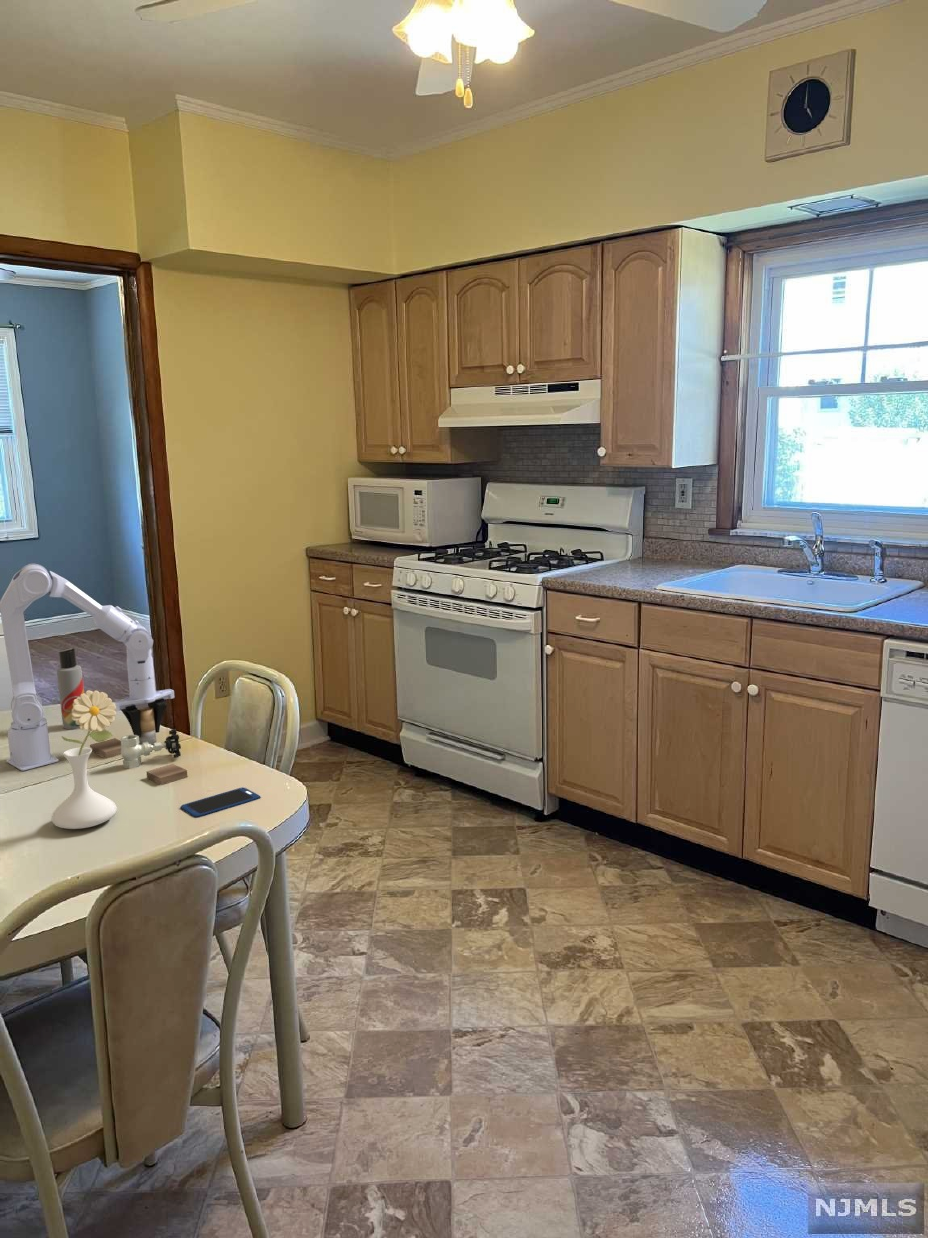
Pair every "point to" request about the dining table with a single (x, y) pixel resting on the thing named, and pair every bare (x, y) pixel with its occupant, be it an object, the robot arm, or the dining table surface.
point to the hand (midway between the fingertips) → (146, 734)
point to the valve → (146, 748)
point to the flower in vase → (84, 802)
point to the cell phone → (219, 802)
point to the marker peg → (147, 725)
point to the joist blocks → (155, 775)
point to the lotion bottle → (69, 685)
